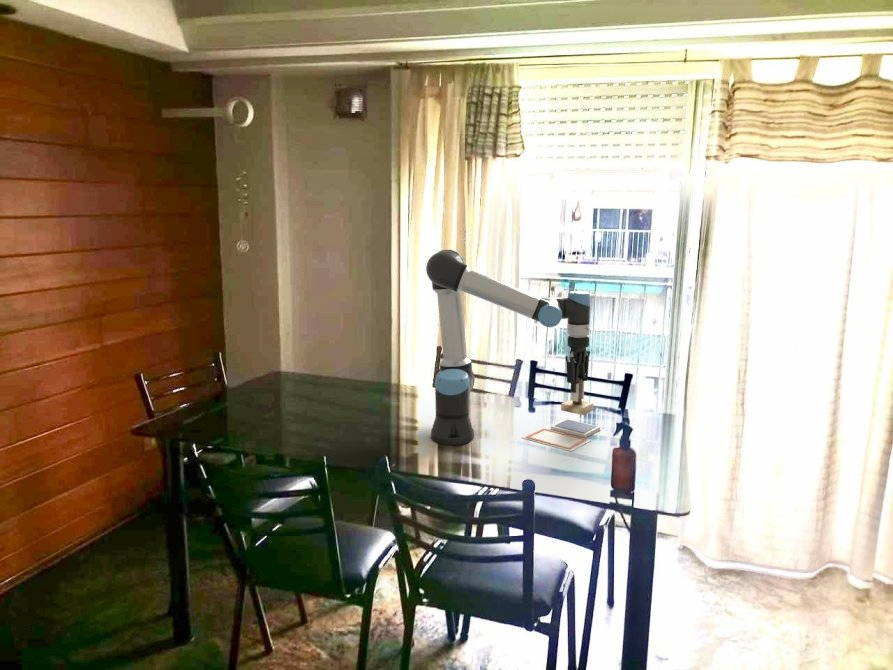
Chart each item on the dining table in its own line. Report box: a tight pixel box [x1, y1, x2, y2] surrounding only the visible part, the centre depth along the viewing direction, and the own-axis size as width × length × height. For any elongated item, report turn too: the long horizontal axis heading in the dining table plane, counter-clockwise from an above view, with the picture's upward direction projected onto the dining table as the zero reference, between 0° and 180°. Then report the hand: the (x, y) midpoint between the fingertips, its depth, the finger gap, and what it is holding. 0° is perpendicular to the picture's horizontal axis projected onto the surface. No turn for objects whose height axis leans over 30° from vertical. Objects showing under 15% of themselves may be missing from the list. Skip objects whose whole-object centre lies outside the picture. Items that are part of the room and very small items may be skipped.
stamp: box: [560, 378, 594, 416], centre depth 237 cm, size 9×7×12 cm
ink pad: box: [550, 418, 601, 439], centre depth 239 cm, size 14×11×1 cm
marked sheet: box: [521, 427, 592, 452], centre depth 230 cm, size 20×13×1 cm, turn 49°
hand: (577, 399), depth 237 cm, fingers closed on stamp, 3 cm apart
